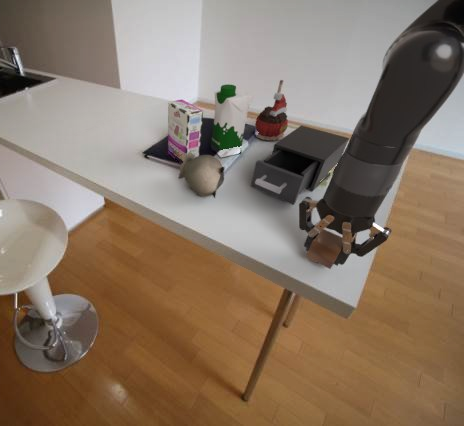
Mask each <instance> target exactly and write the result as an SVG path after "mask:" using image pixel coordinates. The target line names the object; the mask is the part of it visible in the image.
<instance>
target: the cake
mask: <svg viewBox="0 0 464 426" xmlns="http://www.w3.org/2000/svg"><path fill="white" fill-rule="evenodd" d="M283 83H284V80H283V79H280V80H279V83H278V87H277V90H276V91H277V92H274V94H273V100H274V103H273V106H268V105H267V106H266V107H264V109H263V110H262V111H261V112H260V113H259V115H257V117H256V120H255V125H254V126H255V129H256V128H257V131H258V132H259V133H258V135H256V136H255V137H256V138H258V139H260V140H262V141H263V140H265V141H276V140H277V141H280V140H281V139H283V138H284V137H285V132H286V130H287V129H288V126H289V125H288V122H289V120H288V115H287V106H288V105H287V104H288V103H287V100H286V97H285V94H284V93H281V92H282V88H283Z"/></svg>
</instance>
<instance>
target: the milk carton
mask: <svg viewBox="0 0 464 426" xmlns="http://www.w3.org/2000/svg"><path fill="white" fill-rule="evenodd" d="M254 97H255V96H254V94H252V93H250V92H248V91H246V90H243V89H242V88H240V87H237V86H236V85H234V84H222V85H221V86H220V90H217V91H214V116H213V117H214V118H213V126H212V135H211V140H210V145H211V144H212V145H213V146H215V147H216V148H218V149H219V150H223V149H229V148H233V147H237V146H238V147H240V146H242V147H243V141H244V134H245V129H246V128H245V127H246V123H247V118H248V112H249V109H250V106H251V103H252V100H253V98H254ZM241 154H242V151H241V152H240V153H239V154H238V155H241Z"/></svg>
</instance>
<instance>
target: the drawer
mask: <svg viewBox="0 0 464 426" xmlns="http://www.w3.org/2000/svg"><path fill="white" fill-rule="evenodd" d="M319 165H320V162H319V161H316V160H313V159H310V158H307V157H304V156H301V155H298V154H294V153H291V152H288V151H285V150H282V149H278V150H277V151H275V152H274V153H273V154H272V153H271V154H269V155H268V156H266V158H264V159H263V161H262V160H259V159H258V160H256V162H255V165H254V170H253V174H252V179H251V183H250V187H251V188H252V189H256V190H258V191H260V192H262V193H264V194H267V195H269V196H271V197H274V198H276V199H278V200H281V201H283V202H285V203H288V204H290V205H292V206H295V204H296V203H297V200H298V197H299V196H300V195H301V194H302V193H304V191H305V190H307V189H306V188H307V187H308V186H309V185H310V184H311V183H312V182H313V180H314V177H315V175H316V172H317V170H318V167H319Z"/></svg>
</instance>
